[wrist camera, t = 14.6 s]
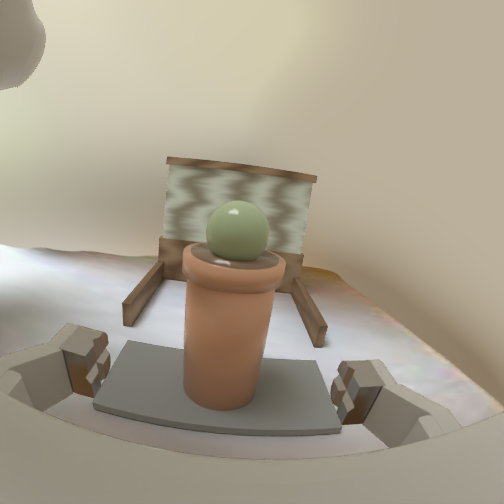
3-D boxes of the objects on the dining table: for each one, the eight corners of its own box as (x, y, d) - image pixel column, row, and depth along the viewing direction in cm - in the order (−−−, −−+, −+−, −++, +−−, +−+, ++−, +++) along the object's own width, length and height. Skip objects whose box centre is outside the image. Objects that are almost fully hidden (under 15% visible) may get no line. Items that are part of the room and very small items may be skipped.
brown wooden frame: (123, 325, 31) (129, 147, 26) (159, 275, 49) (168, 157, 44) (321, 347, 33) (359, 177, 28) (295, 291, 51) (315, 175, 46)
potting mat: (94, 408, 18) (92, 402, 18) (128, 346, 28) (128, 340, 27) (338, 433, 20) (342, 427, 19) (313, 366, 29) (315, 360, 29)
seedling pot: (172, 408, 20) (179, 198, 16) (184, 357, 27) (196, 191, 23) (263, 417, 20) (305, 215, 16) (257, 365, 27) (285, 203, 23)
